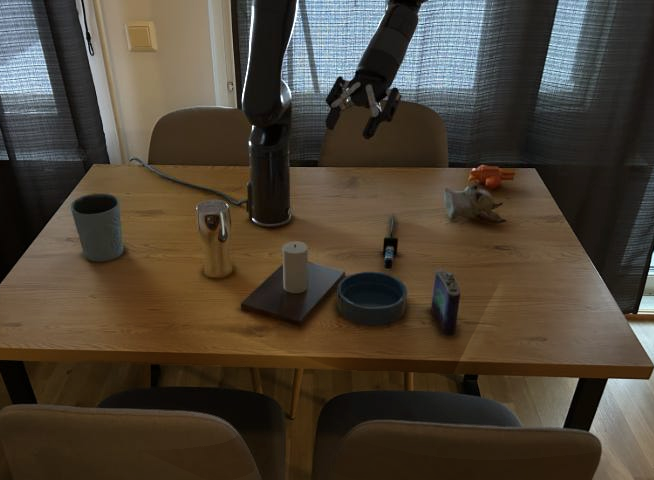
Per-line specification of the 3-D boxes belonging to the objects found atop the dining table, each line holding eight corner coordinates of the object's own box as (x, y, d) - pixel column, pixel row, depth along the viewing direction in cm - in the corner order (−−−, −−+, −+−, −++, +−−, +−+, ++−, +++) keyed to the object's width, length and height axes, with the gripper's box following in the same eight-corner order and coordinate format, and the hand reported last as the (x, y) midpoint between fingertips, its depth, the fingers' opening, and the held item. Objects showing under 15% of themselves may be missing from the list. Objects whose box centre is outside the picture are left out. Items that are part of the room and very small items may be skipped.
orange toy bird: (514, 161, 171) (468, 160, 171) (519, 180, 166) (472, 179, 166) (509, 175, 175) (465, 175, 175) (514, 194, 170) (468, 194, 170)
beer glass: (239, 265, 138) (235, 201, 130) (226, 281, 133) (220, 216, 124) (210, 260, 140) (204, 197, 131) (196, 276, 134) (188, 211, 126)
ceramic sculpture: (445, 173, 156) (508, 180, 155) (439, 205, 161) (499, 212, 160) (446, 191, 148) (512, 199, 146) (439, 225, 153) (503, 232, 151)
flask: (428, 308, 124) (434, 261, 118) (443, 307, 124) (450, 259, 118) (443, 337, 117) (451, 288, 110) (459, 336, 117) (467, 286, 111)
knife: (390, 279, 130) (393, 259, 128) (376, 278, 131) (377, 258, 129) (403, 226, 157) (405, 209, 155) (391, 225, 157) (392, 207, 155)
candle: (279, 289, 127) (277, 247, 122) (290, 278, 131) (290, 236, 125) (300, 295, 125) (300, 253, 120) (311, 284, 129) (311, 242, 124)
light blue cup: (98, 238, 148) (88, 190, 142) (136, 245, 146) (128, 196, 139) (71, 259, 141) (60, 209, 134) (111, 267, 138) (101, 216, 131)
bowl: (325, 315, 123) (326, 297, 120) (353, 282, 132) (354, 265, 130) (390, 334, 117) (392, 316, 115) (414, 298, 127) (416, 281, 125)
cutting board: (240, 309, 124) (240, 303, 123) (290, 262, 139) (290, 256, 138) (300, 327, 119) (300, 321, 118) (345, 277, 134) (345, 271, 133)
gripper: (344, 41, 124) (308, 115, 123) (409, 52, 117) (371, 130, 116) (358, 64, 131) (324, 134, 130) (420, 75, 124) (384, 150, 123)
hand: (346, 132), depth 123 cm, fingers open, 8 cm apart
